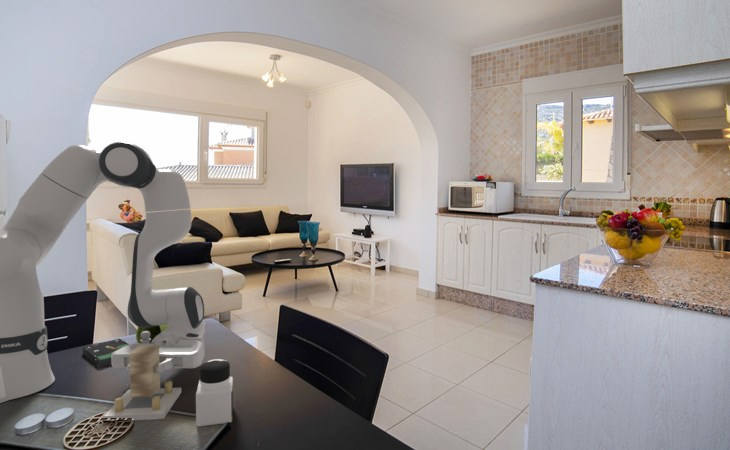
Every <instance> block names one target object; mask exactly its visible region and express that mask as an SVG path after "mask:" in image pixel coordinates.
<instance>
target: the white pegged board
mask: <svg viewBox="0 0 730 450" xmlns="http://www.w3.org/2000/svg"><path fill="white" fill-rule="evenodd" d="M181 393H182V387H173V380H166V381H164V388H163V387H160V388H159V389H158V390H157V392H156V393H155V394H154V395H153V396H152V397H131V387H130V389H127V391H126V392H125V393H123V395H122V396H121V397H117V398H115V399H114V404H113V405H112V406H111V407H110V409H109V410H108V411H106V412H105V414H104V415H103V416H102V417H103V418H121V419H123V418H133V419H134V420H133V421H145V420H146V421H150V420H164V419H165V417H166V416H167V415H168V413H169V412H170V410H171V408H172V407H173V406H174V404H175V402H176V401H177V399H179V397H180V395H181ZM103 418H102V419H103Z"/></svg>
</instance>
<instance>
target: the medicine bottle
mask: <svg viewBox="0 0 730 450" xmlns="http://www.w3.org/2000/svg"><path fill="white" fill-rule="evenodd" d="M230 365H231V364H230V362H229V361H227V360H225V359H222V358H221V359H220V358H216V359H209V360H208V361H205V362H202V363H201V364H200V366H199V380H198V385H197V387H196V388H197V389H196V392H195V426H196V427H198V428H199V427H206V426H208V427H209V426H213V425H214V426H215V425H222V424H227V423H226V422H229V423H232V422H233V418H234V417H233V416H234V413H233V412H234V377H233V376H231V367H230ZM229 423H228V424H229Z"/></svg>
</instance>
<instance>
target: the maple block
mask: <svg viewBox="0 0 730 450" xmlns="http://www.w3.org/2000/svg"><path fill="white" fill-rule="evenodd" d="M129 359H130V373H129V382H130V383H129V385H130V387H131V397H152V396H153V395H154V394H155V393H156V392H157V390H158V389H159V388H161V373H153V371H154V370H153V367H154V365H155V364H156V363H160V361H159V345H158V346H138V347H137V348H135V349H134V350H133V351H131V352H130V353H129Z"/></svg>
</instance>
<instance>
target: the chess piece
mask: <svg viewBox="0 0 730 450" xmlns="http://www.w3.org/2000/svg"><path fill="white" fill-rule="evenodd" d="M149 337H150V332H149V331H143V332H142V333H141V338H142V339H141V340H140V341H141V342H142V344H149V341H150V340H151V338H149Z"/></svg>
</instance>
